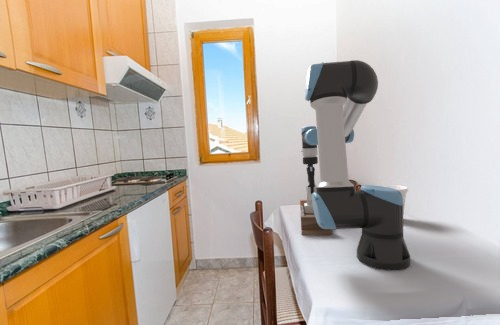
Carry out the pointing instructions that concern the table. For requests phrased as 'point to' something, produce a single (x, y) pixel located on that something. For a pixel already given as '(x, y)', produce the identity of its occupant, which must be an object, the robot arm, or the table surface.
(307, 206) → the block
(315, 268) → the table surface
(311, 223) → the track
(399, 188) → the cup
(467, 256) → the table surface
